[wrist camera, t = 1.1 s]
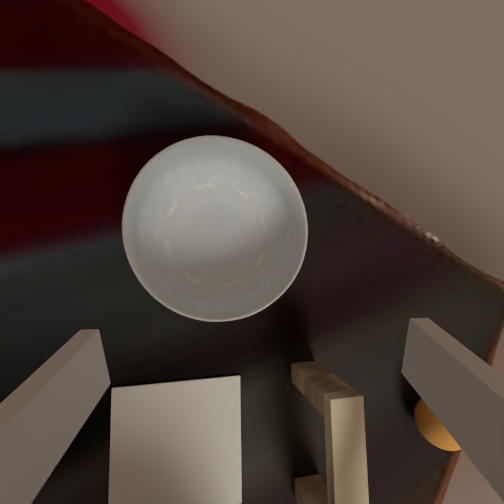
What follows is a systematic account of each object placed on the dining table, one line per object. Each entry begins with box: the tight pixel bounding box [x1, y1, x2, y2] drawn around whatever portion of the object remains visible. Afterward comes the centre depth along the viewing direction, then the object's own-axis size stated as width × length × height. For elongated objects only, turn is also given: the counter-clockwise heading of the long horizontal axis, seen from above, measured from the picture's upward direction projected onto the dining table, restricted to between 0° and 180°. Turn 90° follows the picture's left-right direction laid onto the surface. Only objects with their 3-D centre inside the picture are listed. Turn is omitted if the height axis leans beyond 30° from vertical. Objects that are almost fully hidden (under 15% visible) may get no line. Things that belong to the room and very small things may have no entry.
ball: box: [414, 398, 461, 451], centre depth 31 cm, size 6×6×6 cm
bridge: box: [291, 361, 369, 504], centre depth 25 cm, size 3×14×9 cm, turn 1°
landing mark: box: [108, 375, 242, 504], centre depth 27 cm, size 13×13×1 cm
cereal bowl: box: [122, 135, 308, 322], centre depth 26 cm, size 17×17×7 cm
